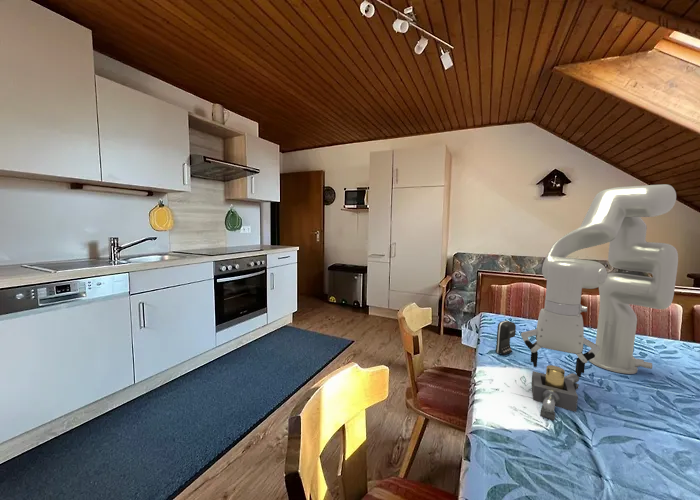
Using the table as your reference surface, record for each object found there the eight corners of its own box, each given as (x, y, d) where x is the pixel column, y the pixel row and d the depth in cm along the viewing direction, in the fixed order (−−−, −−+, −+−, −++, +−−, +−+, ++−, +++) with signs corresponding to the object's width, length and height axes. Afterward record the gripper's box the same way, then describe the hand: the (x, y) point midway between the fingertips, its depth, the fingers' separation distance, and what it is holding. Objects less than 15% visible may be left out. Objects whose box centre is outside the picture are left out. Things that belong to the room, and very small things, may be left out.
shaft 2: (568, 395, 81) (570, 380, 80) (554, 389, 84) (555, 374, 83) (580, 388, 84) (582, 374, 84) (566, 382, 87) (567, 369, 87)
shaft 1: (541, 402, 77) (543, 386, 76) (558, 408, 75) (560, 392, 74) (538, 415, 71) (539, 398, 71) (555, 422, 69) (557, 405, 69)
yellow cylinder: (560, 395, 80) (563, 367, 80) (562, 403, 77) (565, 374, 76) (543, 391, 82) (546, 363, 81) (544, 398, 79) (547, 370, 78)
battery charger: (505, 356, 104) (508, 325, 103) (494, 352, 107) (497, 322, 106) (515, 352, 108) (517, 322, 107) (504, 348, 111) (507, 319, 110)
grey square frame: (570, 394, 81) (571, 380, 81) (576, 412, 73) (577, 396, 73) (531, 384, 86) (532, 371, 85) (533, 400, 78) (534, 385, 77)
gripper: (600, 309, 76) (593, 372, 78) (523, 299, 85) (518, 356, 87) (608, 317, 70) (600, 385, 72) (524, 306, 78) (518, 367, 80)
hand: (555, 369), depth 79 cm, fingers open, 9 cm apart
